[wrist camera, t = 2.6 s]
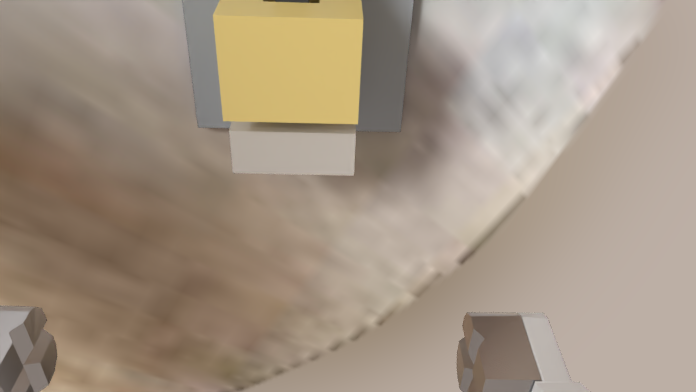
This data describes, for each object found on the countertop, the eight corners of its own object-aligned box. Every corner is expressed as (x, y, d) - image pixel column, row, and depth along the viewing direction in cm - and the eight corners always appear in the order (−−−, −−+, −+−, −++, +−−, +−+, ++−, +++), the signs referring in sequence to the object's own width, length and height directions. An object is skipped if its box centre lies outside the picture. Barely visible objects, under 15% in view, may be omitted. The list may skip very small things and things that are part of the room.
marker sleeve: (240, 64, 27) (223, 121, 23) (233, -30, 24) (212, 15, 20) (354, 67, 27) (357, 124, 23) (358, -26, 24) (363, 19, 20)
